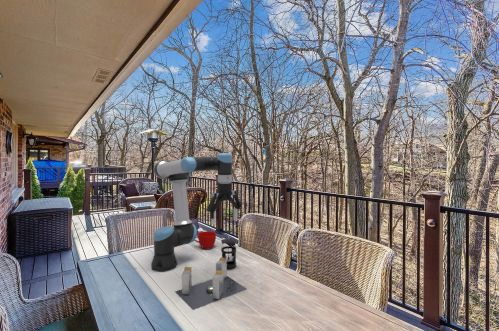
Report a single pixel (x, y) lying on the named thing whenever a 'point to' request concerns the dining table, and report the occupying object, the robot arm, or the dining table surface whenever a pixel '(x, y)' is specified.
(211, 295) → the board
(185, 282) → the orange and grey block
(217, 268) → the white yellow slab
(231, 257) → the french press
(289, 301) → the dining table surface
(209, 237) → the ceramic cup
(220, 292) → the banded metal block
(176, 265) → the robot arm
